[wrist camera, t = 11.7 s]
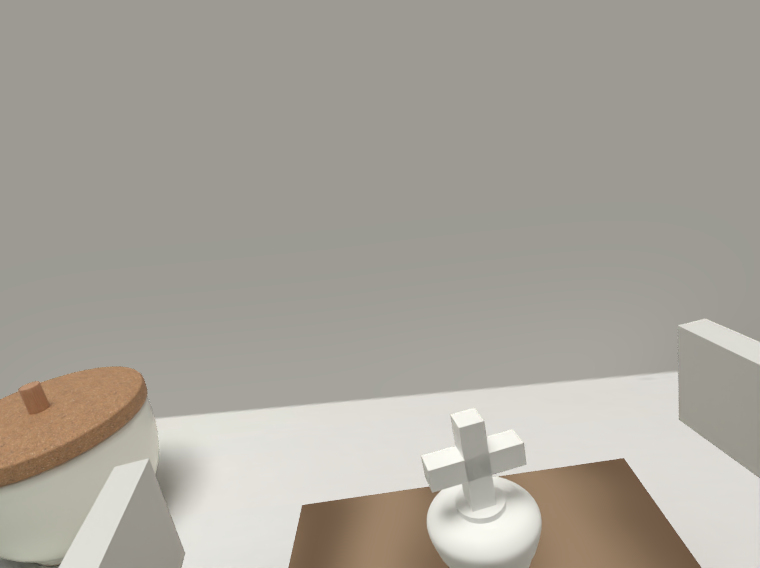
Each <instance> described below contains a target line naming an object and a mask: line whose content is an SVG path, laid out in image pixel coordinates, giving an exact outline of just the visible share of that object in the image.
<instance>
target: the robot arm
mask: <svg viewBox="0 0 760 568" xmlns="http://www.w3.org/2000/svg"><path fill="white" fill-rule="evenodd" d="M678 383H679V420H680V421H682V422H683V423H684V424H686V425H687V426H689V427H690V428H691V429H693V430H694V431H695V432H697V433H698V434H700V435H701V436H702V437H704V438H705V439H706V440H708V441H709V442H711V443H712V444H713V445H715V446H716V447H718V448H719V449H720V450H722V451H723V452H724V453H726V454H727V455H729V456H730V457H731V458H733V459H734V460H735V461H737V462H738V463H740V464H741V465H742V466H744V467H745V468H746V469H748V470H749V471H751V472H752V473H753V474H755V475H756V476H758V477H759V478H760V342H758V341H756V340H753V339H751V338H749V337H747V336H744V335H742V334H740V333H738V332H735V331H733V330H731V329H728V328H726V327H724V326H721V325H719V324H717V323H714V322H712V321H710V320H707V319H702V320H698V321H694V322H690V323H686V324H682V325H678ZM184 556H185V552H184V549H183V546H182V544H181V541H180V539H179V536H178V533H177V531H176V528H175V525H174V523H173V520H172V517H171V515H170V512H169V509H168V507H167V504H166V502H165V499H164V496H163V494H162V491H161V488H160V486H159V483H158V480H157V478H156V475H155V472H154V470H153V467H152V464H151V462H150V459H149V458H148V459H144V460H140V461H136V462H132V463H128V464H124V465H120V466H116V467H114V469H113V470H112V472H111V474H110V476H109V478H108V479H107V481H106V483H105V485H104V487H103V488H102V490H101V492H100V494H99V496H98V497H97V499H96V501H95V503H94V505H93V506H92V508H91V510H90V512H89V514H88V515H87V517H86V519H85V521H84V523H83V524H82V526H81V528H80V530H79V532H78V533H77V535H76V537H75V539H74V541H73V542H72V544H71V546H70V548H69V550H68V551H67V553H66V555H65V557H64V559H63V560H62V562H61V564H60V566H59V568H181V567H182V563H183V560H184Z"/></svg>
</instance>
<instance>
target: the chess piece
mask: <svg viewBox="0 0 760 568" xmlns="http://www.w3.org/2000/svg"><path fill="white" fill-rule="evenodd" d="M450 416H451V422H452V428H453V434H454V440H455V446H453V447H449V448H446V449H442V450H439V451H435V452H432V453H429V454H425V455H422V456H421V458H422V463H423V468H424V473H425V477H426V480H427V482H428V484H429V487H430V489H431V491H432V493H433V492H437V491H440V490H441V491H440V492H439V493H438V494H437V495H436V497H435V498H434V499H433V501H432V503H431V505H430V507H429V510H428V513H427V529H428V533H429V536H430V539H431V541H432V543H433V545H434V547H435V548H436V550H437V552H438V553H439V555H440V556H441V558H442V559H443V561H444V562H445V563H446V564H447V565H448V566H449V568H529V566H530V563H531V560H532V558H533V557H534V555H535V552H536V549H537V546H538V543H539V539H540V534H541V527H542V520H541V513H540V510H539V507H538V505H537V503H536V501H535V500H534V498H533V497H532V496H531V495H530V494H529V493H528V492H527V491H526V490H525V489H524V488H522V487H521V486H519V485H518V484H516V483H514V482H512V481H510V480H507V479H504V478H501V477H496V476H492V475H493V474H496V473H500V472H503V471H506V470H510V469H513V468H516V467H520V466H523V465H526V457H525V449H524V443H523V441H522V440H521V439H520V438H519V436H518V435H517V434H516V433H515V432H514V430H513V429H511V430H508V431H504V432H501V433H498V434H494V435H491V436H487V437H486V430H485V423H484V420H483V419H482V417H481V416H480V415H479V413H478V412H477V411H476V409H475V408H472V409H468V410H465V411H461V412H457V413H454V414H450Z"/></svg>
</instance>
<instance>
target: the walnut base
mask: <svg viewBox="0 0 760 568" xmlns="http://www.w3.org/2000/svg"><path fill="white" fill-rule="evenodd" d="M499 477H501V478H504V479H507V480H510V481H512V482H514V483H516V484H518V485H519V486H521V487H522V488H524V489H525V490H526V491H527V492H528V493H529V494H530V495H531V496H532V497H533V498H534V500H535V501H536V503H537V505H538V507H539V510H540V513H541V520H542V527H541V534H540V539H539V543H538V546H537V549H536V552H535V555H534V557H533V558H532V560H531V563H530V566H529V568H701V567H700V565H699V564H698V562H697V561H696V560H695V558H694V557H693V555H692V554H691V553H690V551H689V550H688V548H687V547H686V545H685V544H684V543H683V541H682V540H681V538H680V537H679V536H678V534H677V533H676V531H675V530H674V529H673V527H672V526H671V524H670V523H669V521H668V520H667V519H666V517H665V516H664V514H663V513H662V512H661V510H660V509H659V507H658V506H657V505H656V503H655V502H654V500H653V499H652V497H651V496H650V495H649V493H648V492H647V490H646V489H645V488H644V486H643V485H642V483H641V482H640V481H639V479H638V478H637V476H636V475H635V473H634V472H633V471H632V469H631V468H630V466H629V465H628V464H627V462H626V461H625V459H624V458H623V459H616V460H609V461H602V462H595V463H588V464H581V465H575V466H568V467H561V468H554V469H547V470H540V471H533V472H526V473H520V474H513V475H506V476H499ZM440 491H441V490H440ZM440 491H437V492H433V493H432V491H431V489H430V487H424V488H417V489H410V490H403V491H396V492H389V493H382V494H376V495H369V496H362V497H355V498H348V499H341V500H334V501H328V502H321V503H314V504H307V505H302V509H301V513H300V518H299V523H298V527H297V532H296V536H295V541H294V545H293V550H292V554H291V559H290V563H289V568H449V566H448V565H447V564H446V563H445V562H444V561H443V559H442V558H441V556H440V555H439V553H438V552H437V550H436V548H435V547H434V545H433V543H432V541H431V539H430V536H429V533H428V529H427V513H428V510H429V507H430V505H431V503H432V501H433V499H434V498H435V497H436V495H437V494H438V493H439V492H440Z"/></svg>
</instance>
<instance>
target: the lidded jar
mask: <svg viewBox="0 0 760 568" xmlns="http://www.w3.org/2000/svg"><path fill="white" fill-rule="evenodd" d="M148 458H149V459H150V462H151V464H152V467H153V470H154V472H155V475H156V471H157V467H158V460H159V441H158V431H157V426H156V421H155V417H154V414H153V410H152V407H151V404H150V401H149V399H148V396H147V387H146V384H145V381H144V378H143V377H142V375H141V374H140V373H139V372H137V371H136V370H134V369H131V368H127V367H102V368H95V369H89V370H84V371H79V372H74V373H71V374H67V375H64V376H60V377H57V378H53V379H50V380H47V381H44V382H41V383H40V382H39V381H35V382H32V383H28V384H26V385H24V386H22V387H20V388H19V389H18V392H16V393H14V394H11V395H9V396H7V397H5V398H3V399H0V558H3V559H6V560H11V561H17V562H36V563H37V564H39V565H43V566H58V565H60V564H61V562H62V560H63V559H64V557H65V555H66V553H67V551H68V550H69V548H70V546H71V544H72V542H73V541H74V539H75V537H76V535H77V533H78V532H79V530H80V528H81V526H82V524H83V523H84V521H85V519H86V517H87V515H88V514H89V512H90V510H91V508H92V506H93V505H94V503H95V501H96V499H97V497H98V496H99V494H100V492H101V490H102V488H103V487H104V485H105V483H106V481H107V479H108V478H109V476H110V474H111V472H112V470H113V469H114V467H116V466H120V465H124V464H128V463H132V462H136V461H140V460H144V459H148Z"/></svg>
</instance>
